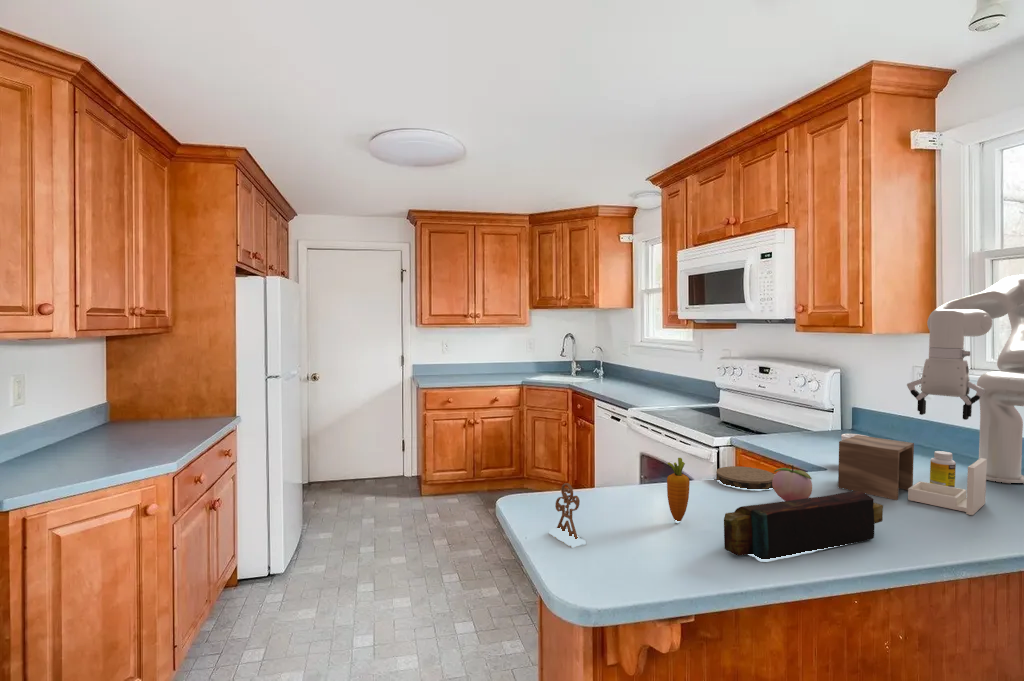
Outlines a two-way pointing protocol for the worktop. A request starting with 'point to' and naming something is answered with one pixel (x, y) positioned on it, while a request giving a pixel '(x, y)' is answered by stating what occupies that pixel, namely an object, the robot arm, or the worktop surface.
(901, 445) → the cabinet
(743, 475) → the brown round disc
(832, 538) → the packaged item
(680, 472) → the carrot
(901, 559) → the worktop surface
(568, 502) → the gingerbread man figurine
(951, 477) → the supplement bottle
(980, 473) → the drawer
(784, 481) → the decorative fruit
